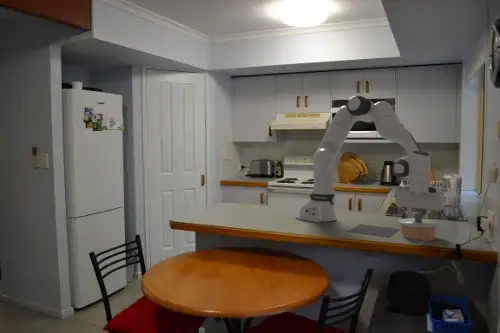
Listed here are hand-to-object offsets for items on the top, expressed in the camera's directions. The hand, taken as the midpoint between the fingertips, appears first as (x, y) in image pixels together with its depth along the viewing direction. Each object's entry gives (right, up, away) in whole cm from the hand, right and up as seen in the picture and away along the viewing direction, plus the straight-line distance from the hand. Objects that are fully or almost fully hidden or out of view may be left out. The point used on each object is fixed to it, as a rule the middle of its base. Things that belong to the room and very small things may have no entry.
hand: (418, 218), depth 184 cm
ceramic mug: (+5, -7, +24) cm, 26 cm away
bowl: (0, -9, +1) cm, 9 cm away
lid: (0, -3, 0) cm, 3 cm away
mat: (-17, -8, +12) cm, 22 cm away
